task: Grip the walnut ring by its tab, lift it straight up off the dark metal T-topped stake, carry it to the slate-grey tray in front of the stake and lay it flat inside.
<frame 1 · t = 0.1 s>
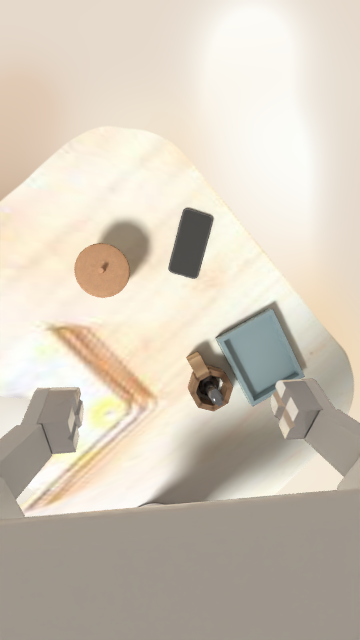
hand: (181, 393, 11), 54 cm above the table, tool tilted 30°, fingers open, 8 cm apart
tray: (258, 356, 70), on the table
smartphone: (190, 244, 65), on the table
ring: (208, 384, 69), on the table
stake: (208, 384, 69), on the table
lidded jar: (107, 273, 63), on the table
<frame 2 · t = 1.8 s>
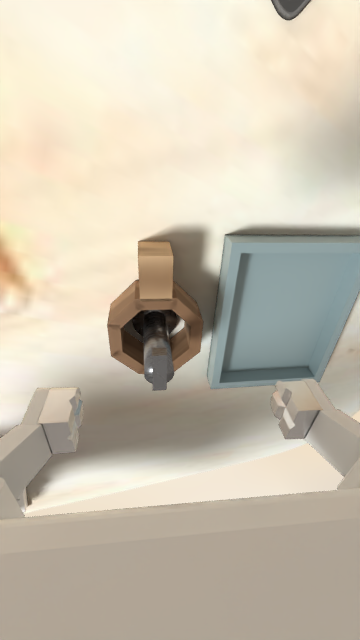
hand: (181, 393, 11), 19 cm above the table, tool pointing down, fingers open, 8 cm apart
tray: (275, 314, 33), on the table
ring: (154, 318, 32), on the table
stake: (154, 318, 32), on the table
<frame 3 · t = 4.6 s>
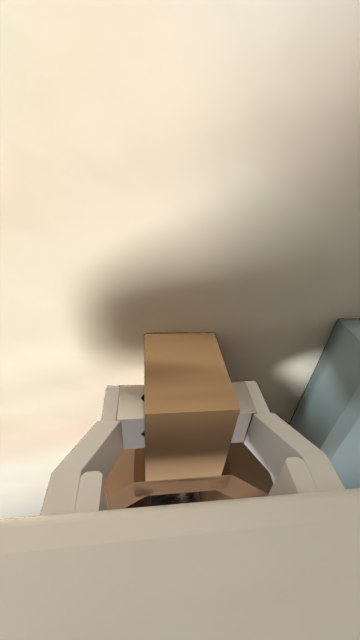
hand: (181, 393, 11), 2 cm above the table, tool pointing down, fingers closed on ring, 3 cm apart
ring: (170, 449, 17), on the table, touching gripper
stake: (170, 449, 17), on the table
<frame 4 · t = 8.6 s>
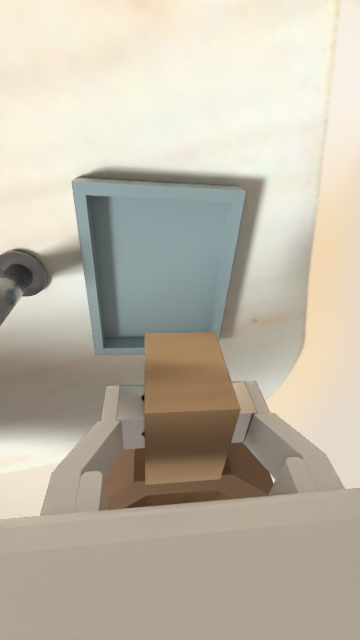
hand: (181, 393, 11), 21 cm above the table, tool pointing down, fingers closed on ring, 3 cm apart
tray: (158, 274, 31), on the table
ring: (170, 448, 17), point 19 cm above the table, touching gripper
stake: (21, 272, 29), on the table
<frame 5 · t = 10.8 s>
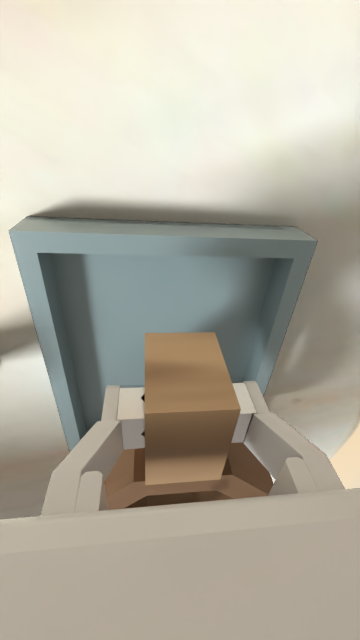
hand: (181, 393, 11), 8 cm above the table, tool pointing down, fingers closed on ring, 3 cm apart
tray: (164, 351, 21), on the table
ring: (170, 449, 17), point 6 cm above the table, touching gripper
when the fingers open (4 cm above the table, at t = 12.5 s): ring drops 1 cm, resting on tray.
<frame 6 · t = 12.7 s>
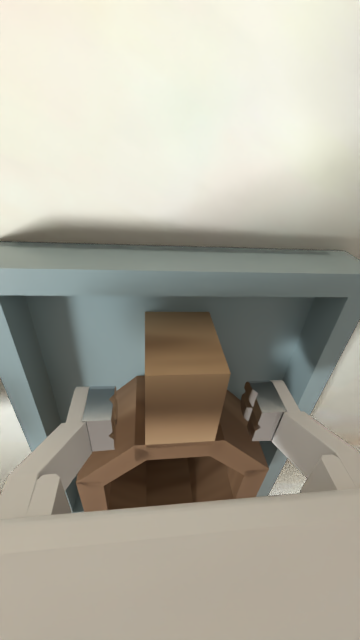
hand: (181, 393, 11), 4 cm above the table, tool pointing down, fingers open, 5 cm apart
tray: (170, 396, 17), on the table
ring: (168, 427, 18), point 1 cm above the table, touching tray
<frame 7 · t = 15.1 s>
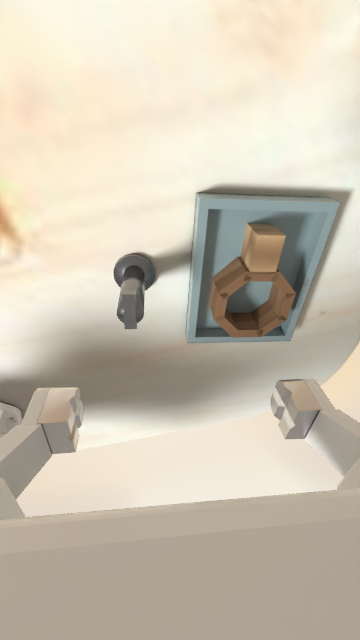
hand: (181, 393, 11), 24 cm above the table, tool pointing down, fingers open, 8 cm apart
tray: (247, 273, 36), on the table
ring: (245, 290, 37), point 1 cm above the table, touching tray
stake: (134, 272, 35), on the table
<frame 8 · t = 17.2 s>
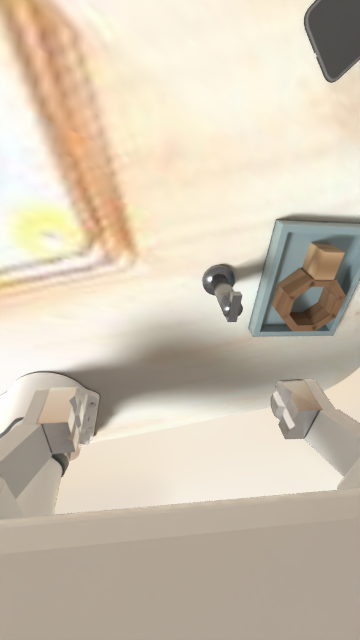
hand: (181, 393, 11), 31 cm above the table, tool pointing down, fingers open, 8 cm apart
tray: (304, 280, 46), on the table
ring: (301, 294, 46), point 1 cm above the table, touching tray
stake: (218, 279, 44), on the table
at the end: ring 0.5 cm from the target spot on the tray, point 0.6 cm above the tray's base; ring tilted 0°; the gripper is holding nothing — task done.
